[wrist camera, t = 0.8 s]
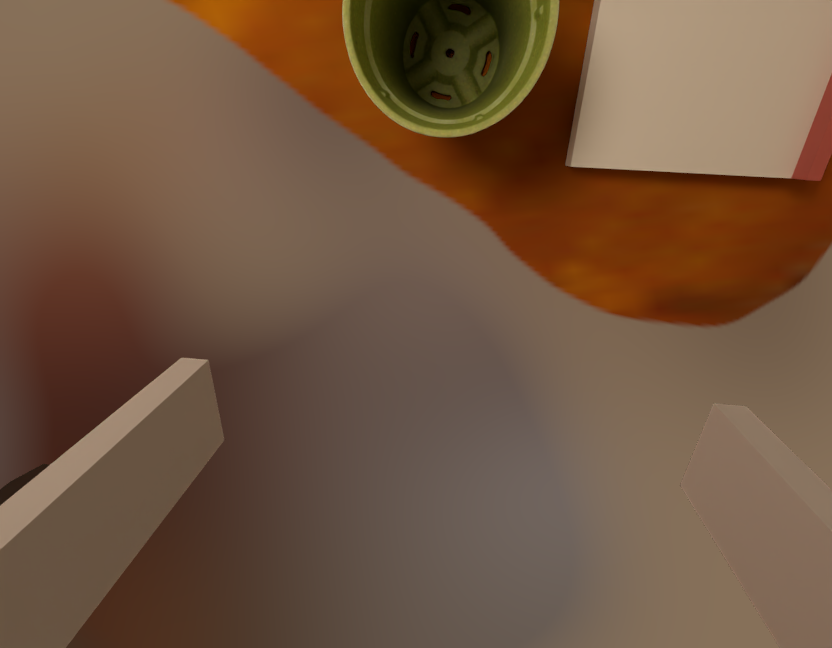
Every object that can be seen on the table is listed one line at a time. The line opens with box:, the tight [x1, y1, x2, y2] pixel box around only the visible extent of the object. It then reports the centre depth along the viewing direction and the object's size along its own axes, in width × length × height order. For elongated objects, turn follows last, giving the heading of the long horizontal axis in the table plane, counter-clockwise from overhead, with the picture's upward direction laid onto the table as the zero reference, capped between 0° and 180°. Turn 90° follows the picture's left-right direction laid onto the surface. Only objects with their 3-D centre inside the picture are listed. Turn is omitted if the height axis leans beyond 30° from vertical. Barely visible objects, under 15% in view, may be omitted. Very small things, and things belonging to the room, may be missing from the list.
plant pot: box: [342, 0, 559, 137], centre depth 22 cm, size 9×9×9 cm
